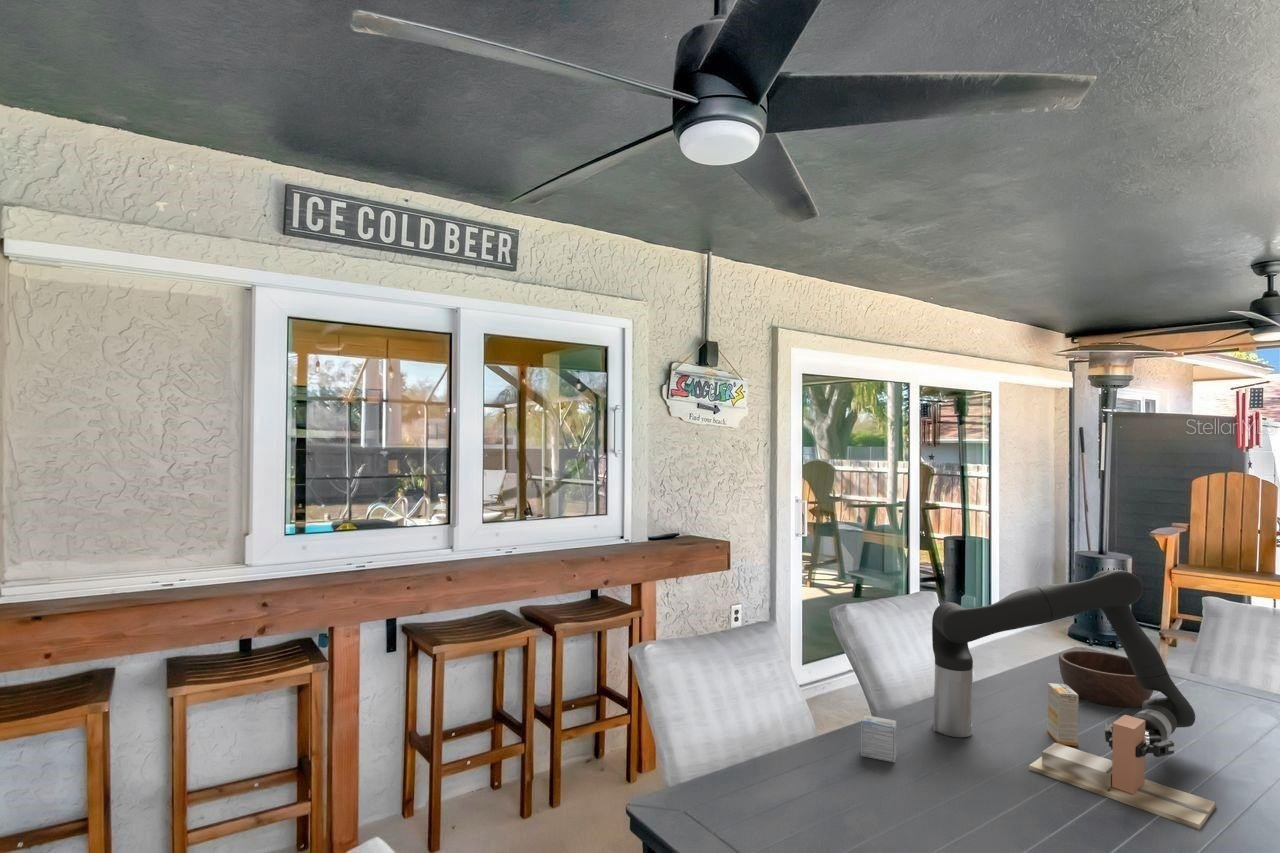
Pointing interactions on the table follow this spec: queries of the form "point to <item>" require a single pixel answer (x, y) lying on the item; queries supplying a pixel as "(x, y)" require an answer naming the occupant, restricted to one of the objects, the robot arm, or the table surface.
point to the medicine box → (879, 738)
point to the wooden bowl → (1102, 678)
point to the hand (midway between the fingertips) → (1125, 749)
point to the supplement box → (1062, 714)
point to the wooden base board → (1098, 779)
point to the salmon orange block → (1128, 754)
